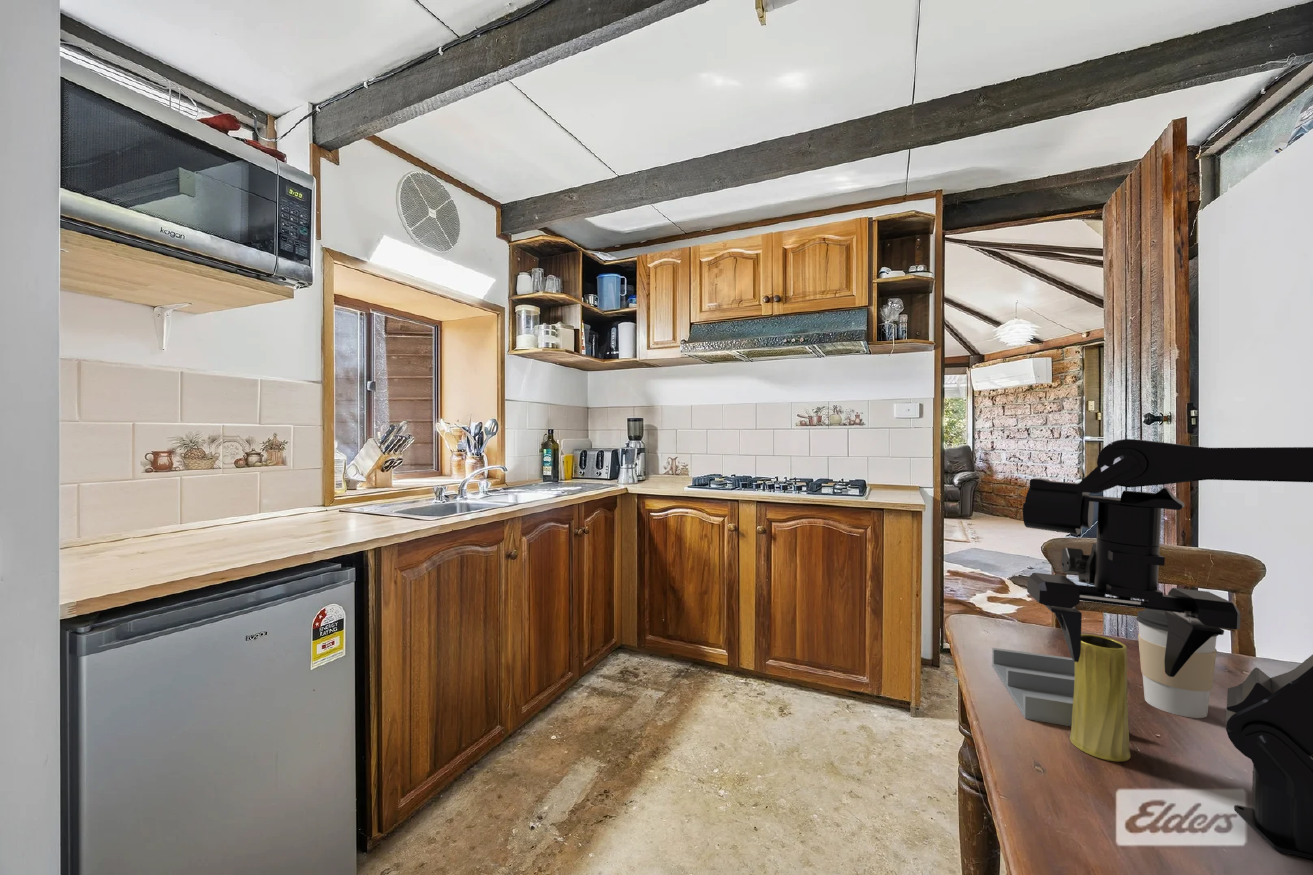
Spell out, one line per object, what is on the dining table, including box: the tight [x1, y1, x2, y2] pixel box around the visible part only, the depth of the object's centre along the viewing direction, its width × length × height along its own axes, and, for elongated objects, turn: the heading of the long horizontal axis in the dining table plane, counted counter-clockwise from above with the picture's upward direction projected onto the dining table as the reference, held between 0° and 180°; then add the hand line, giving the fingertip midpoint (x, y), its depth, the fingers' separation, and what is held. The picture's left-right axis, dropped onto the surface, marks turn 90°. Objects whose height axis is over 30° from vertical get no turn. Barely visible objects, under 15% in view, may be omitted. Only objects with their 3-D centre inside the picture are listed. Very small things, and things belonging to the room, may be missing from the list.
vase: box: [1069, 633, 1132, 763], centre depth 69 cm, size 6×6×14 cm
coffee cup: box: [1135, 608, 1219, 719], centre depth 80 cm, size 9×9×15 cm
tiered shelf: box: [991, 647, 1075, 727], centre depth 83 cm, size 19×12×3 cm, turn 159°
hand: (1120, 667), depth 64 cm, fingers open, 9 cm apart
